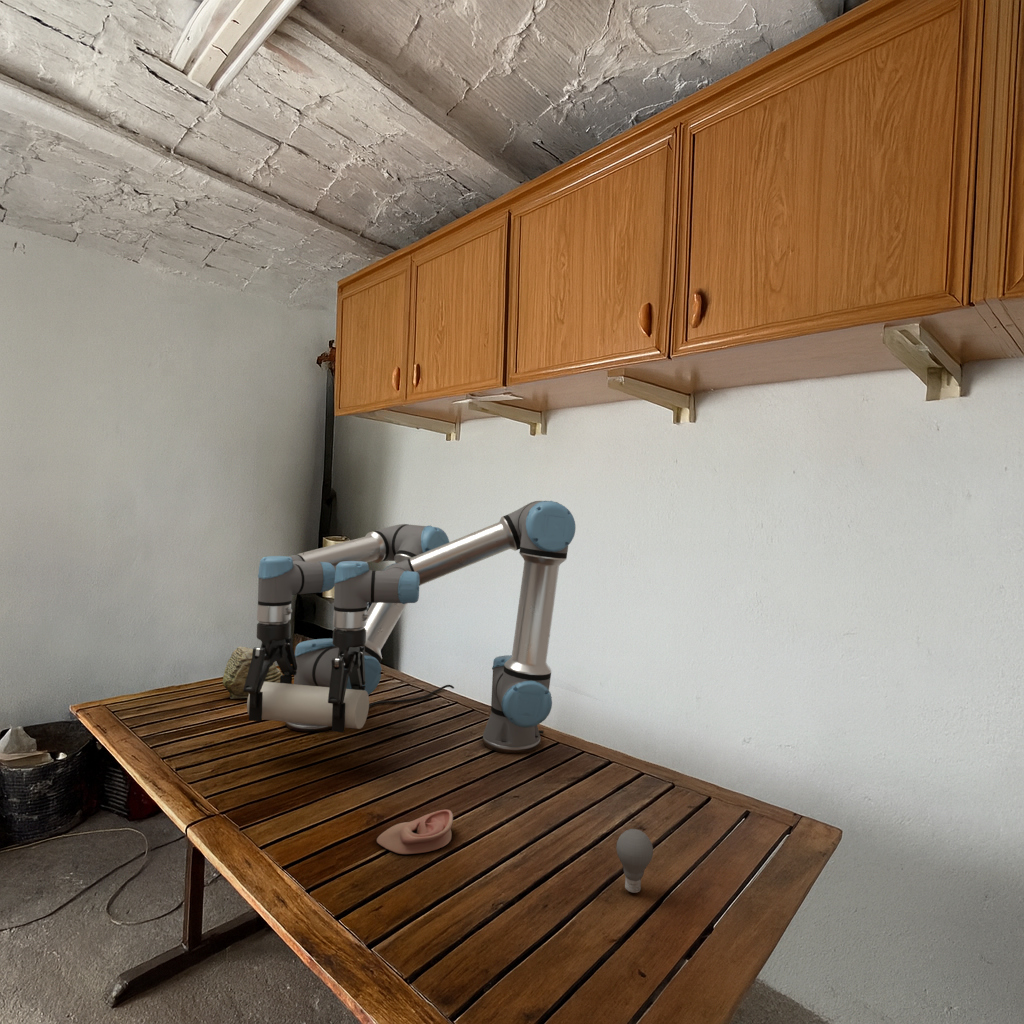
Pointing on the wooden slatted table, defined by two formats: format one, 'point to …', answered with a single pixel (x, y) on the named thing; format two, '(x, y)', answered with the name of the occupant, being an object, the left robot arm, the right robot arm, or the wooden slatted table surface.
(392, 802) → the wooden slatted table surface
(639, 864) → the light bulb
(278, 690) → the rod
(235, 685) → the fossil
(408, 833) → the anatomical model
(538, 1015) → the wooden slatted table surface
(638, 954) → the wooden slatted table surface
